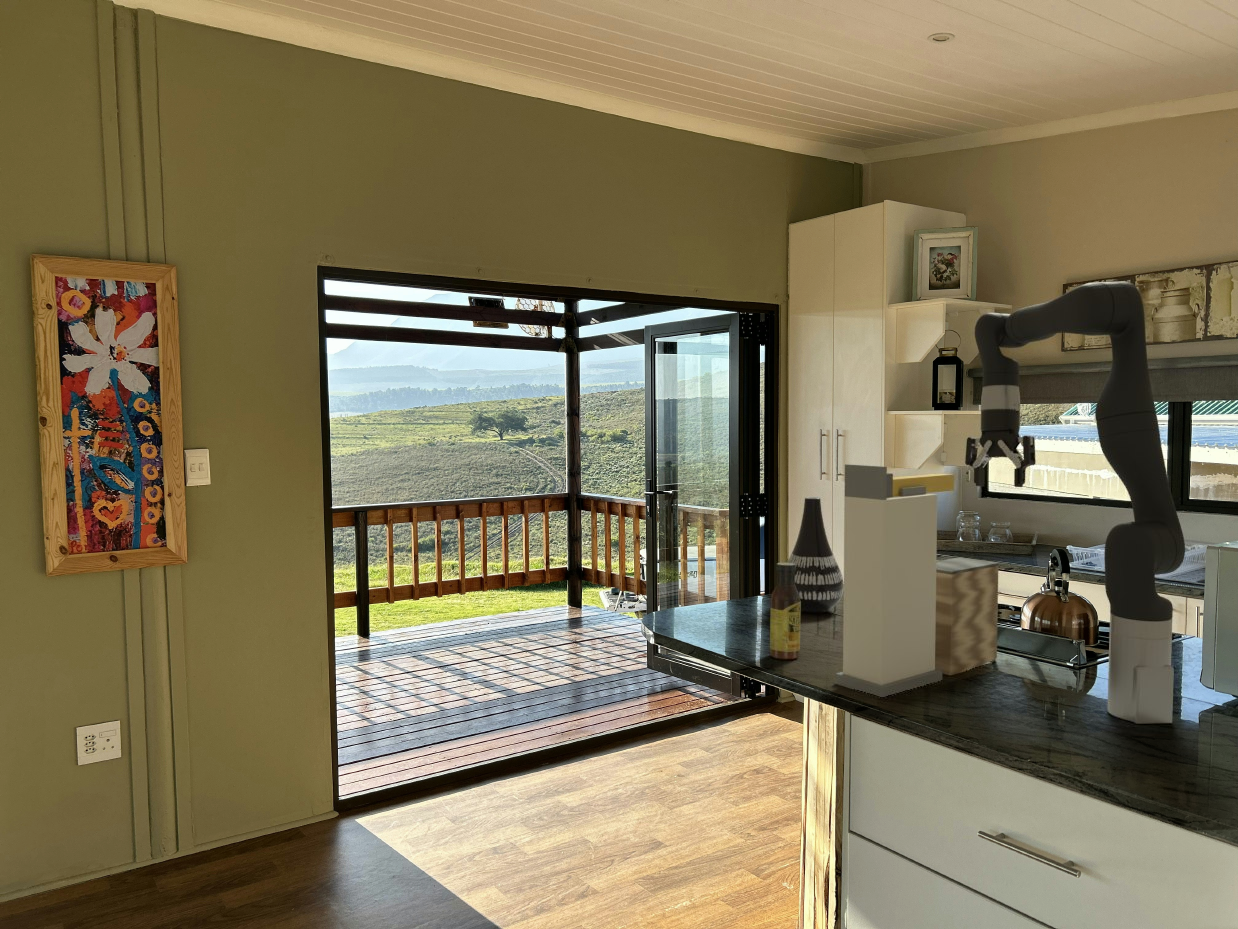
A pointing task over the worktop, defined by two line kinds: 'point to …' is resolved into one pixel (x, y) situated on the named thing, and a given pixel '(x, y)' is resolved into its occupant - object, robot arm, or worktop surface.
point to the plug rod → (920, 483)
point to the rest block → (965, 614)
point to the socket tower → (888, 585)
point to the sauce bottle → (785, 614)
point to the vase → (815, 563)
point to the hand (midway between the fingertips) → (999, 486)
